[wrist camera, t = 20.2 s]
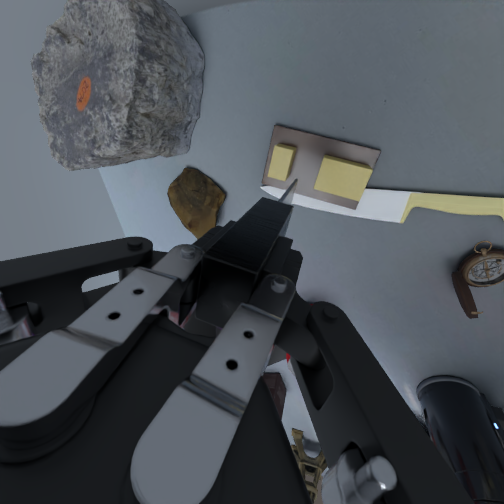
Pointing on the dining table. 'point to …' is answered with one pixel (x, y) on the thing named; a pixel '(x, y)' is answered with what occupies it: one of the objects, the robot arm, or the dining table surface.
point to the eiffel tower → (308, 464)
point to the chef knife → (241, 258)
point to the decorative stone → (195, 201)
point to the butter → (343, 177)
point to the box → (276, 390)
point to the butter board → (315, 161)
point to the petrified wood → (118, 83)
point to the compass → (478, 275)
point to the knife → (400, 204)
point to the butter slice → (281, 162)
